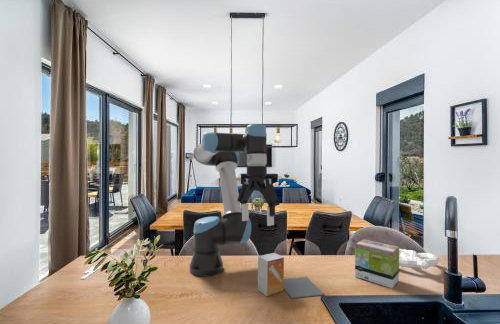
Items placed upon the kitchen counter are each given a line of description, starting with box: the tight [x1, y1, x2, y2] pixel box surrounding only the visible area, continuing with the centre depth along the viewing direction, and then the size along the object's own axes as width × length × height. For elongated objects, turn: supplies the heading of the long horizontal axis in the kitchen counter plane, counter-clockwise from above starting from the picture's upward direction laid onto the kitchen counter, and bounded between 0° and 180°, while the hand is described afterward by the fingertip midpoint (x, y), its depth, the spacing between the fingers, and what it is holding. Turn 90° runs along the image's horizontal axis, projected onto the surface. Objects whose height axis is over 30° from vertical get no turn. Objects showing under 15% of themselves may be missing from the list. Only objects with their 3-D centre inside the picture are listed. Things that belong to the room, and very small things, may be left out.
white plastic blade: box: [80, 264, 103, 280], centre depth 115 cm, size 5×15×1 cm, turn 1°
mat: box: [283, 276, 325, 299], centre depth 102 cm, size 15×13×1 cm
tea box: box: [354, 238, 400, 289], centre depth 110 cm, size 15×10×15 cm, turn 47°
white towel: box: [399, 248, 440, 270], centre depth 126 cm, size 28×24×6 cm
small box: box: [257, 252, 285, 297], centre depth 100 cm, size 8×6×13 cm
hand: (257, 222), depth 96 cm, fingers open, 13 cm apart
